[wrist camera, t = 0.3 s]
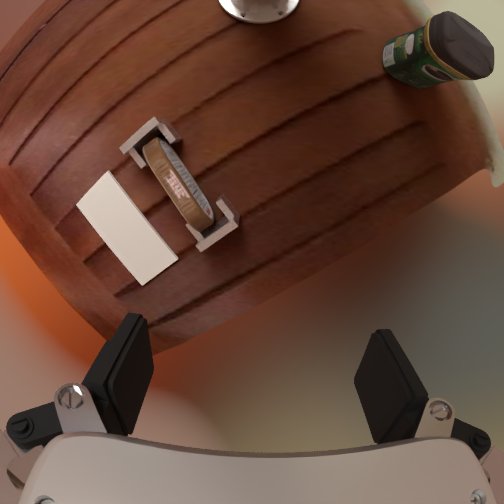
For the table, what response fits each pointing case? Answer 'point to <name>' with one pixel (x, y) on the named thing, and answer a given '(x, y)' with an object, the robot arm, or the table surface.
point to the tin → (178, 183)
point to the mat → (125, 229)
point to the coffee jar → (439, 53)
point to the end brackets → (136, 151)
